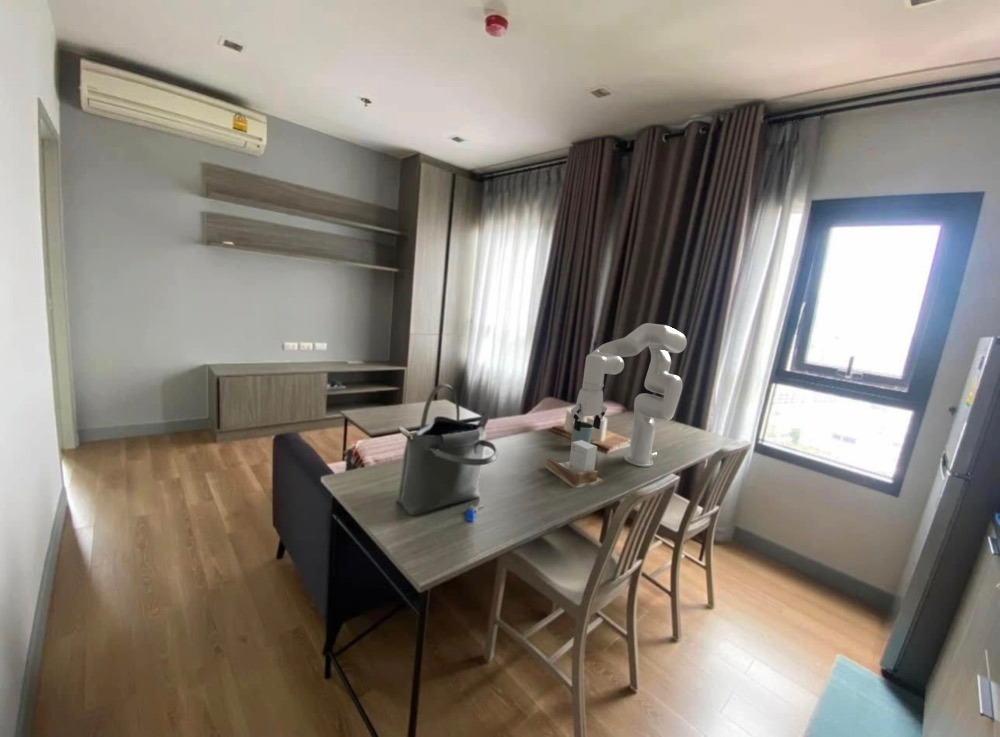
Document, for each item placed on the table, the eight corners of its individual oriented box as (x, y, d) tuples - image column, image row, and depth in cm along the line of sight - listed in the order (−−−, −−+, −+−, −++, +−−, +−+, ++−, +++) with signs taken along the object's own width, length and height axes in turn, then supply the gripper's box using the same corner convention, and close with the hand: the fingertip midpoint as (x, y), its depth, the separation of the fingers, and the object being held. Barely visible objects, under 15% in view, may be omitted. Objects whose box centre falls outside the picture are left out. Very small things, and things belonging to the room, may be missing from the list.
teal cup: (578, 443, 205) (581, 420, 203) (594, 450, 197) (598, 426, 195) (564, 446, 198) (568, 422, 196) (581, 453, 191) (584, 429, 189)
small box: (593, 477, 163) (597, 446, 160) (582, 480, 159) (587, 448, 156) (577, 469, 169) (582, 439, 167) (567, 472, 165) (571, 441, 163)
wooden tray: (572, 463, 178) (574, 452, 177) (602, 483, 161) (604, 470, 161) (545, 467, 171) (547, 455, 170) (574, 488, 155) (576, 475, 154)
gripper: (602, 383, 165) (597, 424, 168) (568, 384, 157) (563, 427, 160) (616, 388, 159) (609, 430, 162) (581, 389, 150) (575, 434, 154)
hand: (586, 429), depth 161 cm, fingers open, 9 cm apart
